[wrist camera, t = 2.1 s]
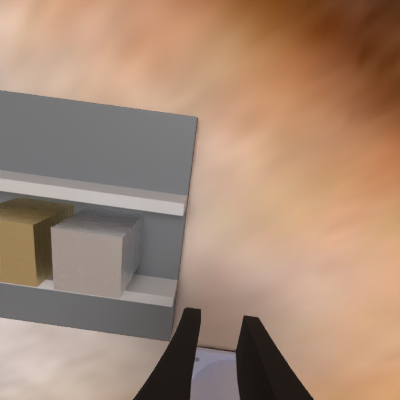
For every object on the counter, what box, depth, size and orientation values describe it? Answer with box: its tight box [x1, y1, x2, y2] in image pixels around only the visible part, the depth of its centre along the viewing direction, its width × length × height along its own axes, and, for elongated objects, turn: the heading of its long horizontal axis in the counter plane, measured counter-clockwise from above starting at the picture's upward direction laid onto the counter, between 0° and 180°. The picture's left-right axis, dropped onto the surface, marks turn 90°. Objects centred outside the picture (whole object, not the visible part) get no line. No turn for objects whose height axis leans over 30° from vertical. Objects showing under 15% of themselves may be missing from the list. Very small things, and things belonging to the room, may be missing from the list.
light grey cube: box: [51, 207, 143, 299], centre depth 15 cm, size 4×4×4 cm
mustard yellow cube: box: [0, 197, 74, 287], centre depth 15 cm, size 4×4×4 cm
